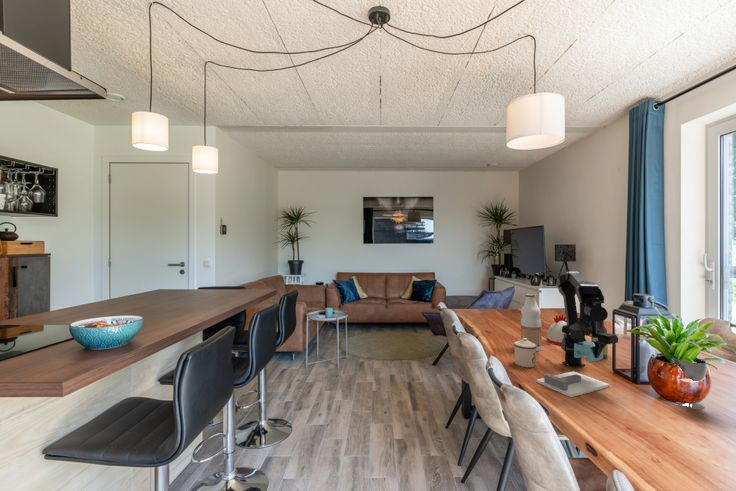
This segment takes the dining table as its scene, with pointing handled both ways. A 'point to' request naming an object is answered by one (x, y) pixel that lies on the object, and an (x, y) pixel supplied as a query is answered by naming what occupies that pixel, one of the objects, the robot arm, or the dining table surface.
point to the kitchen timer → (556, 330)
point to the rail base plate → (572, 383)
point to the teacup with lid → (525, 353)
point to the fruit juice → (531, 321)
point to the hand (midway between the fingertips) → (588, 355)
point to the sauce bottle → (601, 330)
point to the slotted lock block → (586, 351)
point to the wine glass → (692, 376)
